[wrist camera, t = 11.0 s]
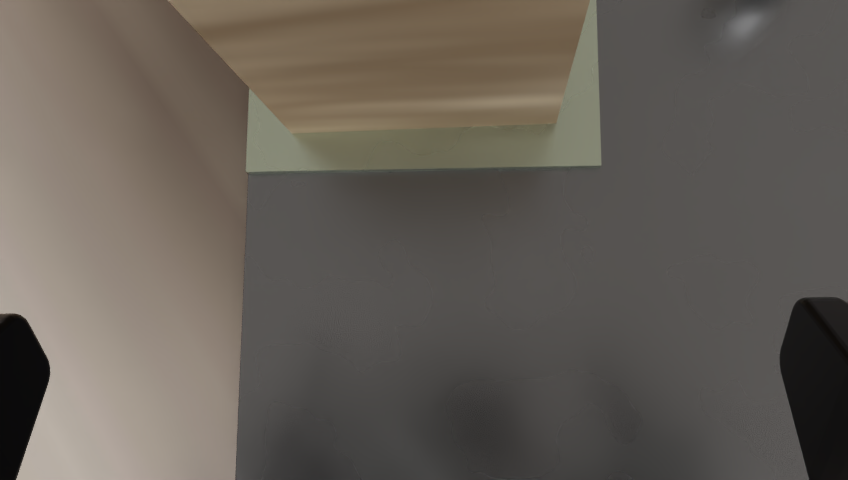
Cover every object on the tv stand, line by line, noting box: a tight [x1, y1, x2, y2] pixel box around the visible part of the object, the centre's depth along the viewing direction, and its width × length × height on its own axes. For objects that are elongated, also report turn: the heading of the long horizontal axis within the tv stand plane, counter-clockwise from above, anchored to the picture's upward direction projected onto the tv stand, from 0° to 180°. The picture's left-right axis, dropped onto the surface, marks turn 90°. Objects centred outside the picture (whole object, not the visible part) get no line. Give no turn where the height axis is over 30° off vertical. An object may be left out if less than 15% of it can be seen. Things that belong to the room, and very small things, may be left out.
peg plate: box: [235, 0, 848, 480], centre depth 15 cm, size 17×16×6 cm
